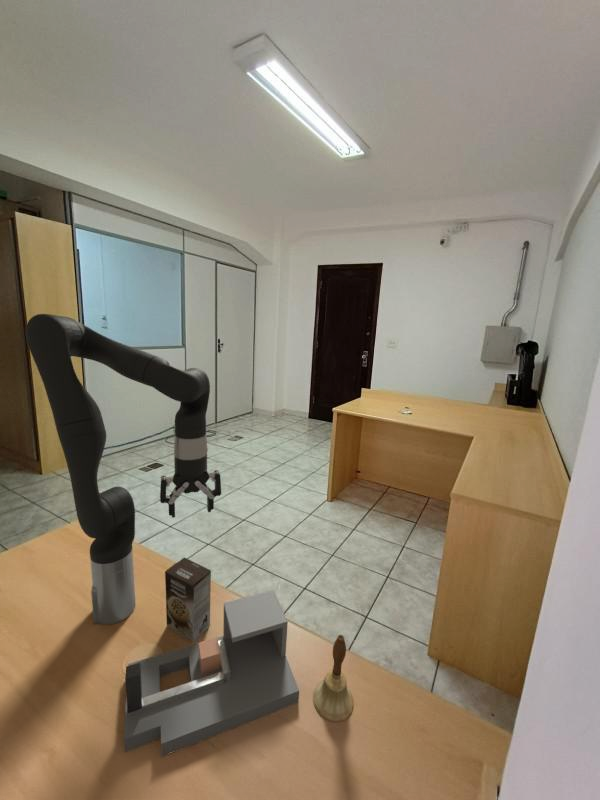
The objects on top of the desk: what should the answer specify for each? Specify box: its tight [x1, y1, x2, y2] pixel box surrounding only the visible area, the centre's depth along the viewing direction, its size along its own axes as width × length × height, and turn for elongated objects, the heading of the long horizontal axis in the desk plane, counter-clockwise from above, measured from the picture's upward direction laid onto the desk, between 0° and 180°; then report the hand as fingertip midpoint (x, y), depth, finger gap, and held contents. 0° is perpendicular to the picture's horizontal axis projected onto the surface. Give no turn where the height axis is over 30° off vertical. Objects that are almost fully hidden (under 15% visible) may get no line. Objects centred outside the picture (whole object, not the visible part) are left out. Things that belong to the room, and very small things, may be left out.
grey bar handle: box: [124, 640, 231, 716], centre depth 70 cm, size 19×8×9 cm, turn 113°
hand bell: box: [313, 634, 355, 723], centre depth 70 cm, size 8×8×16 cm
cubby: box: [123, 589, 300, 757], centre depth 72 cm, size 32×18×12 cm, turn 113°
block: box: [198, 636, 221, 675], centre depth 75 cm, size 4×4×4 cm
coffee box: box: [164, 557, 212, 643], centre depth 85 cm, size 9×6×16 cm
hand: (191, 513), depth 87 cm, fingers open, 8 cm apart
